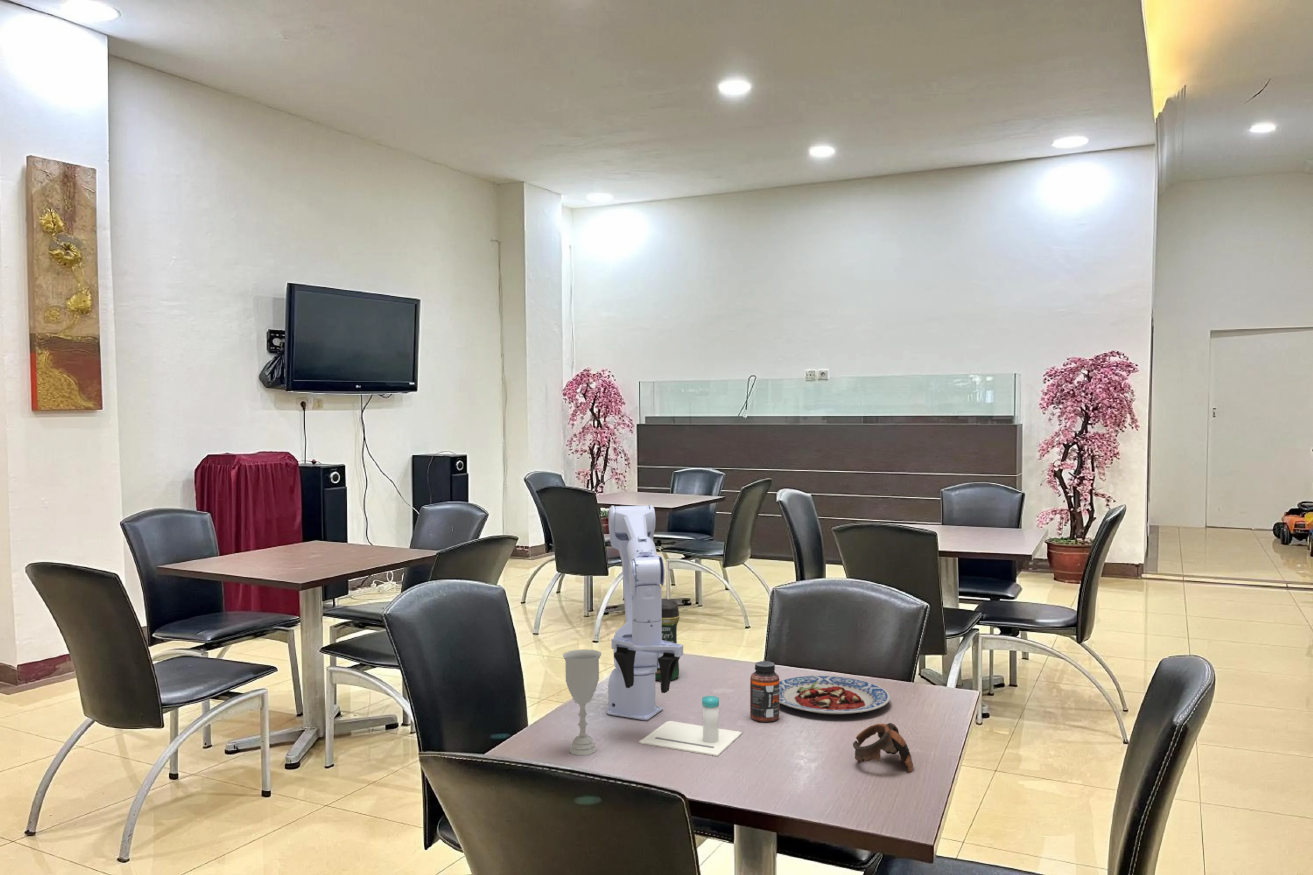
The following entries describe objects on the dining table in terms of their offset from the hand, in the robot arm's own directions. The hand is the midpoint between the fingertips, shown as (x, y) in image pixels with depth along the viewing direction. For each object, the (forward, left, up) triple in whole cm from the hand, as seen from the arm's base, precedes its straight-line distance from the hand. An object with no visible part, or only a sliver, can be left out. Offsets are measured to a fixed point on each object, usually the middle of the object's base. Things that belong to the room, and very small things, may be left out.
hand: (647, 688), depth 180 cm
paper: (+8, +3, -9) cm, 13 cm away
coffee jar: (-15, +37, -10) cm, 41 cm away
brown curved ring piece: (+44, +6, -10) cm, 46 cm away
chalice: (-8, -11, -10) cm, 17 cm away
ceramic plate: (+26, +36, -10) cm, 45 cm away
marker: (+12, +3, -9) cm, 15 cm away
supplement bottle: (+17, +20, -10) cm, 28 cm away
